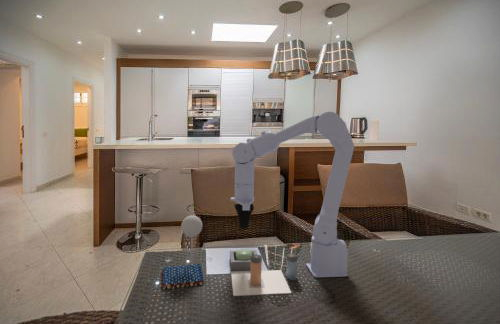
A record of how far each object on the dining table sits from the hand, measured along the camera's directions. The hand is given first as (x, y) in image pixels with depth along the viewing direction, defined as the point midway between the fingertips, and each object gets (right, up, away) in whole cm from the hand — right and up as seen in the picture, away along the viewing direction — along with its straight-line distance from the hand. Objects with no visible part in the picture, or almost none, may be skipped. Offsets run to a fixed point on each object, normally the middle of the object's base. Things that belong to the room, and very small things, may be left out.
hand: (243, 228), depth 89 cm
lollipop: (-15, -10, -5) cm, 19 cm away
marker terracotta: (+3, -11, -14) cm, 18 cm away
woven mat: (-16, -11, -11) cm, 22 cm away
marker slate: (+13, -11, -10) cm, 20 cm away
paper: (+4, -11, -13) cm, 17 cm away
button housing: (0, -10, -2) cm, 10 cm away
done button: (0, -10, -2) cm, 10 cm away
